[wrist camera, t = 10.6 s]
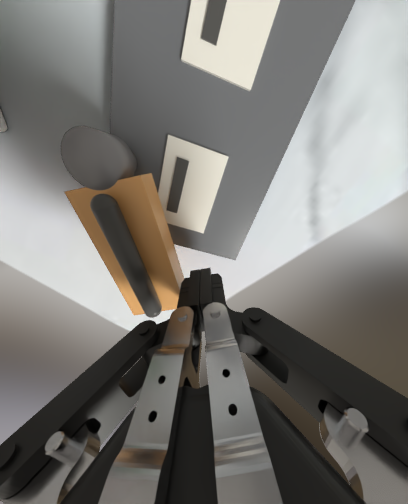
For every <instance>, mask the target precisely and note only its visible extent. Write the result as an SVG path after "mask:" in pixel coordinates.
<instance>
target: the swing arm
mask: <svg viewBox="0 0 408 504" xmlns="http://www.w3.org/2000/svg"><path fill="white" fill-rule="evenodd" d="M61 155H62V159H63V162H64V164H65V167H66V168H67V170H68V172H69V173H70V174H71V175H72V177H73V178H74V179H75V180H76V181H78V182H79V183H80V184H82V185H83V186H85V187H84V188H80V189H75V190H70V191H66V192H65V194H66V196H67V198H68V199H69V201H70V203H71V205H72V206H73V208H74V210H75V212H76V214H77V215H78V217H79V219H80V221H81V222H82V224H83V226H84V228H85V230H86V231H87V233H88V235H89V237H90V238H91V240H92V242H93V244H94V245H95V247H96V249H97V251H98V253H99V254H100V256H101V258H102V260H103V261H104V263H105V265H106V267H107V269H108V270H109V272H110V274H111V276H112V277H113V279H114V281H115V283H116V284H117V286H118V288H119V290H120V292H121V293H122V295H123V297H124V299H125V300H126V302H127V304H128V306H129V308H130V309H131V311H132V313H133V315H139V314H146V316H148V317H156V316H158V315H159V314H160V312H161V311H165V310H172V309H177V304H178V299H179V293H180V287H181V283H182V281H183V280H184V276H183V273H182V270H181V267H180V263H179V260H178V257H177V254H176V250H175V247H174V244H173V241H172V238H171V234H170V231H169V228H168V225H167V221H166V218H165V215H164V212H163V209H162V205H161V202H160V199H159V196H158V192H157V189H156V186H155V183H154V179H153V176H152V173H149V174H144V175H139V176H134V177H133V175H134V172H135V159H134V156H133V154H132V151H131V150H130V148H129V147H128V145H127V144H126V143H125V142H124V141H123V140H122V139H120V138H119V137H117V136H115V135H112V134H109V133H106V132H103V131H100V130H97V129H94V128H91V127H87V126H76V127H73V128H71V129H69V130H68V131H67V132H66V133H65V135H64V136H63V139H62V142H61Z"/></svg>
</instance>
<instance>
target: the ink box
mask: <svg viewBox="0 0 408 504" xmlns="http://www.w3.org/2000/svg"><path fill="white" fill-rule="evenodd" d="M6 130H7V125H6V122H5V120H4V117H3V115H2V112H1V109H0V132H5V131H6Z"/></svg>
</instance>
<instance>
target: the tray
mask: <svg viewBox="0 0 408 504" xmlns="http://www.w3.org/2000/svg"><path fill="white" fill-rule="evenodd" d="M354 2H355V0H115V2H114V29H113V57H112V85H111V113H110V134H112V135H115V136H117V137H119V138H120V139H122V140H123V141H124V142H125V143H126V144H127V145H128V147H129V148H130V150H131V151H132V154H133V156H134V159H135V172H134V175H133V177H134V176H139V175H144V174H149V173H152V176H153V179H154V183H155V186H156V189H157V192H158V196H159V199H160V202H161V205H162V209H163V212H164V215H165V218H166V221H167V225H168V228H169V231H170V234H171V238H172V241H173V244H176V245H180V246H183V247H187V248H191V249H195V250H199V251H202V252H206V253H210V254H214V255H217V256H221V257H225V258H229V259H233V260H236V258H237V255H238V253H239V251H240V249H241V247H242V245H243V242H244V240H245V238H246V236H247V234H248V232H249V229H250V227H251V225H252V223H253V221H254V219H255V217H256V214H257V212H258V210H259V208H260V206H261V204H262V201H263V199H264V197H265V195H266V193H267V191H268V188H269V186H270V184H271V182H272V180H273V178H274V175H275V173H276V171H277V169H278V167H279V165H280V162H281V160H282V158H283V156H284V154H285V152H286V150H287V147H288V145H289V143H290V141H291V139H292V137H293V134H294V132H295V130H296V128H297V126H298V124H299V121H300V119H301V117H302V115H303V113H304V111H305V108H306V106H307V104H308V102H309V100H310V98H311V95H312V93H313V91H314V89H315V87H316V85H317V82H318V80H319V78H320V76H321V74H322V72H323V70H324V67H325V65H326V63H327V61H328V59H329V57H330V54H331V52H332V50H333V48H334V46H335V44H336V41H337V39H338V37H339V35H340V33H341V31H342V28H343V26H344V24H345V22H346V20H347V18H348V15H349V13H350V11H351V9H352V7H353V5H354Z"/></svg>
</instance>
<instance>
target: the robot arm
mask: <svg viewBox="0 0 408 504" xmlns="http://www.w3.org/2000/svg"><path fill="white" fill-rule="evenodd" d="M202 331H205V338H206V346H205V352H206V363H207V373H208V385H206V386H204V387H201V388H200V378H199V377H200V362H201V350H202V341H201V338H202V336H201V335H202ZM240 352H243V353H246V355H247V356H248V357H249V358H250V359H251V360H252V361H253V362H254V363H255V364H256V365H257V366H258V367H260V368H261V369H262V370H263V371H264V372H265V373H266V374H267V375H268V376H269V377H270V378H272V379H273V380H274V381H275V382H276V383H277V384H278V385H279V386H280V387H281V388H282V389H283V390H285V391H286V392H287V393H288V394H289V395H290V396H291V397H292V398H293V399H294V400H296V401H297V402H298V403H299V404H300V405H301V406H302V407H303V408H304V409H306V411H308V412H309V413H310V414H311V415H312V416H313V417H314V418H315V419H316V420H317V421H318V422H319V423H320V426H319V427H320V434H321V437H322V440H323V442H324V444H325V446H326V448H327V450H328V451H329V452H330V454H331V455H332V456H333V457H334V458H335V460H336V461H337V462H338V463H339V465H340V466H341V468H342V469H343V471H344V473H345V474H346V477H347V479H348V481H349V484H350V485H349V484H348V483H347V482H346V481H345V480H344V479H343V478H342V477H341V475H340V474H339V473H338V472H337V471H336V470H335V469H334V468H333V467H332V466H331V464H329V462H328V461H327V460H326V459H325V458H324V457H323V456H322V455H321V454H320V453H319V452H318V450H317V449H316V448H315V447H314V446H313V445H312V444H311V443H310V442H309V441H308V440H307V439H306V437H305V436H304V435H303V434H302V433H301V432H300V431H299V430H298V429H297V428H296V427H295V425H294V424H293V423H292V422H291V421H290V420H289V419H288V418H287V417H286V416H285V415H284V414H283V412H282V411H281V410H280V409H279V408H278V407H277V406H276V405H275V404H274V403H273V402H272V401H271V400H270V399H269V398H268V397H267V396H266V395H264V394H263V393H261V392H260V391H258V390H257V389H255V388H253V387H250V386H249V384H248V380H247V377H246V374H245V369H244V366H243V362H242V359H241V355H240ZM141 357H142V358H141ZM140 358H141V359H140ZM139 359H140V360H139ZM138 360H139V361H138ZM137 361H138V362H137ZM136 362H137V363H136ZM135 363H136V364H135ZM134 364H135V365H134ZM133 365H134V366H133ZM132 366H133V367H132ZM131 367H132V368H131ZM130 368H131V369H130ZM129 369H130V370H129ZM128 370H129V371H128ZM127 371H128V372H127ZM126 372H127V373H126ZM125 373H126V374H125ZM124 374H125V375H124ZM123 375H124V376H123ZM122 376H123V377H122ZM137 401H138V402H137ZM136 402H137V405H136V407H135V408H134V409H133V410H132V411H131V413H130V414H129V415H128V416H127V417H126V419H125V420H124V421H123V423H122V424H121V425H120V427H119V428H118V429H117V431H116V432H115V433H114V434H113V436H112V437H111V438H110V439H109V441H108V442H107V443H106V445H105V446H104V447H103V449H102V450H101V451H100V446H101V444H102V443H103V442H104V441H105V440H106V438H107V437H108V436H109V435H110V434H111V432H112V431H113V430H114V429H115V427H116V426H117V425H118V424H119V423H120V421H121V420H122V419H123V418H124V417H125V415H126V414H127V413H128V412H129V410H130V409H131V408H132V407H133V405H134V404H135V403H136ZM99 451H100V452H99ZM0 501H2V502H3V504H408V398H406V397H405V396H403V395H401V394H400V393H398V392H396V391H395V390H393V389H392V388H390V387H388V386H387V385H385V384H383V383H381V382H380V381H378V380H377V379H375V378H373V377H372V376H370V375H369V374H367V373H365V372H364V371H362V370H360V369H359V368H357V367H355V366H354V365H352V364H351V363H349V362H347V361H346V360H344V359H342V358H341V357H339V356H337V355H336V354H334V353H333V352H331V351H329V350H327V349H326V348H324V347H323V346H321V345H319V344H318V343H316V342H314V341H313V340H311V339H310V338H308V337H306V336H305V335H303V334H301V333H300V332H298V331H296V330H295V329H293V328H291V327H290V326H288V325H286V324H285V323H283V322H282V321H280V320H278V319H277V318H275V317H273V316H272V315H270V314H269V313H267V312H265V311H264V310H262V309H260V308H248V309H246V310H245V311H244V312H243V313H240V312H235V311H233V310H231V309H229V308H228V307H227V305H226V302H225V296H224V290H223V284H222V278H221V276H220V275H219V274H211V269H210V268H206V269H201V270H193V271H191V272H190V278H185V279H184V280H183V281H182V283H181V287H180V293H179V299H178V304H177V309H176V310H175V311H174V312H173V313H172V314H171V317H170V319H168V320H167V321H164V322H162V323H159V324H157V325H156V323H155V322H154V321H152V320H147V321H144V322H142V323H140V324H139V325H137V326H136V327H135V328H134V329H133V330H132V331H130V332H129V333H128V334H127V335H126V336H125V337H124V338H123V339H121V340H120V341H119V342H118V343H117V344H116V345H114V346H113V347H112V348H111V349H110V350H109V351H108V352H106V353H105V354H104V355H103V356H102V357H101V358H100V359H98V360H97V361H96V362H95V363H94V364H93V365H92V366H90V367H89V368H88V369H87V370H86V371H85V372H84V373H82V374H81V375H80V376H79V377H78V378H77V379H75V381H73V382H72V383H71V384H70V385H69V386H67V387H66V388H65V389H64V390H63V391H62V392H60V394H58V395H57V396H56V397H55V398H54V399H53V400H51V401H50V402H49V403H48V404H47V405H46V406H45V407H43V408H42V409H41V410H40V411H39V412H38V413H36V414H35V415H34V416H33V417H32V418H31V419H30V420H29V421H27V422H26V423H25V424H24V425H23V426H22V427H20V428H19V429H18V430H17V431H16V432H15V433H13V434H12V435H11V436H10V437H9V438H8V439H7V440H6V441H4V442H3V443H2V444H1V445H0Z"/></svg>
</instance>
